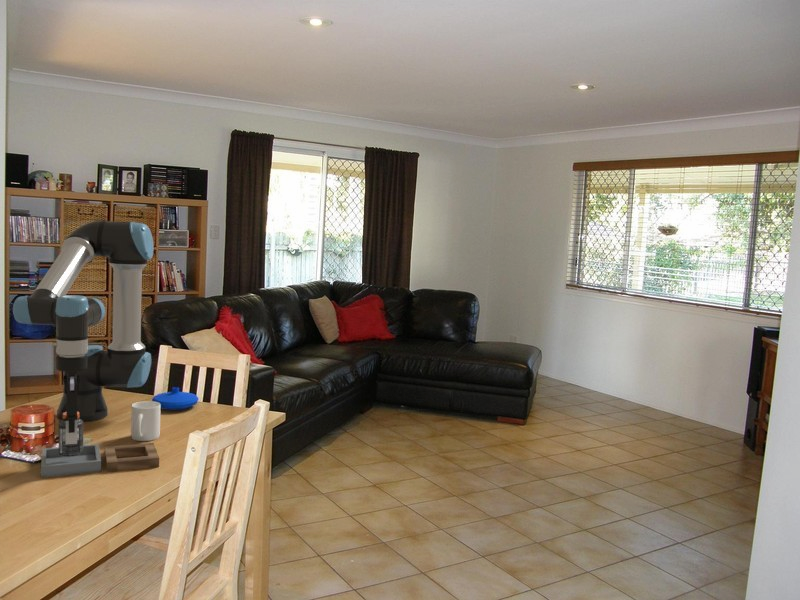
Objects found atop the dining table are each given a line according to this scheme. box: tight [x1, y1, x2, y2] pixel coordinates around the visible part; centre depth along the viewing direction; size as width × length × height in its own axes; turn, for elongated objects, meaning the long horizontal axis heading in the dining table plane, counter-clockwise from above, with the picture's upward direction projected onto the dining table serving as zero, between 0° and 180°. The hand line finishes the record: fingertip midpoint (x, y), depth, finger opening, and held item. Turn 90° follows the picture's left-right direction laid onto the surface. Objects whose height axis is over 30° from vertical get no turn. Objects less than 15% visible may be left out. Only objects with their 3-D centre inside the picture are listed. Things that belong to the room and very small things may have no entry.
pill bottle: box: [58, 412, 84, 457], centre depth 181 cm, size 6×6×11 cm
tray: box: [40, 443, 102, 479], centre depth 182 cm, size 14×14×3 cm
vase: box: [151, 386, 199, 411], centre depth 242 cm, size 16×16×7 cm
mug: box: [130, 400, 162, 442], centre depth 206 cm, size 12×8×10 cm
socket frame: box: [104, 442, 160, 473], centre depth 190 cm, size 16×13×2 cm
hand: (71, 439), depth 182 cm, fingers closed on pill bottle, 6 cm apart
